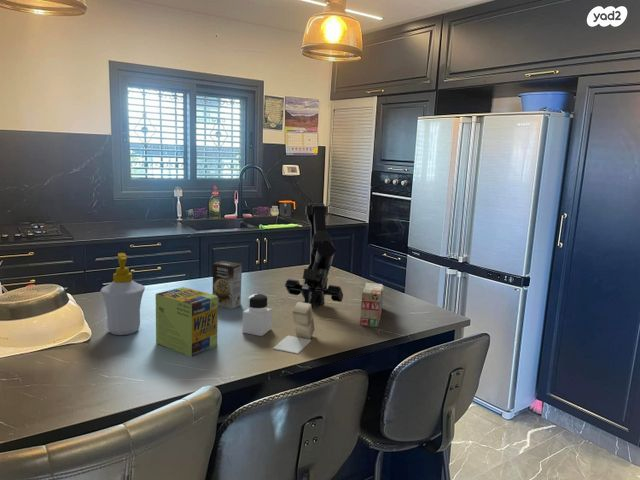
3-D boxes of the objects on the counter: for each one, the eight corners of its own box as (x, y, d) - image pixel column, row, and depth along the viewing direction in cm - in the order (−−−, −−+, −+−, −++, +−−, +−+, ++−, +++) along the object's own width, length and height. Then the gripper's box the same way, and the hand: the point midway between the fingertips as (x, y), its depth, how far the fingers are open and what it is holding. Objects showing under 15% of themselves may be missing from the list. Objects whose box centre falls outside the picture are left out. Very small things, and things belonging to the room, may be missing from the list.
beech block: (301, 327, 154) (297, 301, 148) (314, 329, 152) (311, 303, 146) (296, 337, 150) (292, 311, 144) (309, 339, 149) (306, 313, 143)
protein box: (191, 357, 132) (191, 304, 130) (155, 343, 140) (154, 293, 137) (218, 345, 141) (218, 295, 138) (182, 333, 149) (182, 285, 146)
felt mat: (287, 336, 151) (287, 335, 151) (311, 340, 148) (311, 339, 148) (272, 348, 140) (273, 348, 140) (297, 354, 138) (297, 353, 138)
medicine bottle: (271, 329, 156) (272, 294, 154) (262, 336, 149) (263, 300, 147) (252, 325, 158) (253, 291, 156) (242, 332, 152) (242, 297, 149)
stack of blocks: (366, 306, 184) (368, 276, 182) (382, 308, 183) (384, 277, 181) (359, 325, 164) (362, 291, 161) (377, 327, 162) (380, 293, 160)
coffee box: (211, 305, 177) (211, 263, 174) (221, 300, 182) (221, 260, 180) (232, 309, 173) (233, 266, 170) (241, 304, 179) (242, 263, 176)
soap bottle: (103, 341, 140) (100, 260, 135) (100, 326, 151) (98, 251, 146) (148, 335, 146) (146, 257, 141) (142, 321, 157) (141, 249, 152)
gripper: (288, 255, 155) (272, 296, 146) (342, 262, 149) (329, 305, 140) (296, 273, 163) (282, 313, 155) (348, 280, 157) (336, 322, 149)
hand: (306, 313), depth 150 cm, fingers closed
